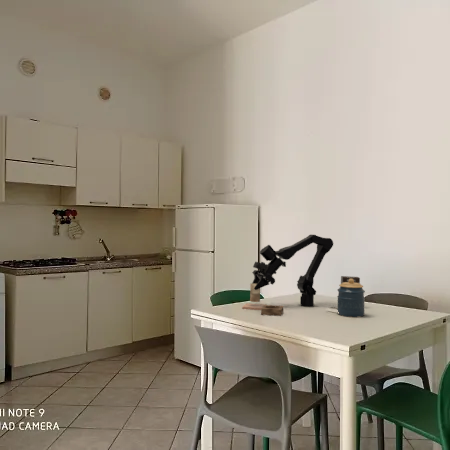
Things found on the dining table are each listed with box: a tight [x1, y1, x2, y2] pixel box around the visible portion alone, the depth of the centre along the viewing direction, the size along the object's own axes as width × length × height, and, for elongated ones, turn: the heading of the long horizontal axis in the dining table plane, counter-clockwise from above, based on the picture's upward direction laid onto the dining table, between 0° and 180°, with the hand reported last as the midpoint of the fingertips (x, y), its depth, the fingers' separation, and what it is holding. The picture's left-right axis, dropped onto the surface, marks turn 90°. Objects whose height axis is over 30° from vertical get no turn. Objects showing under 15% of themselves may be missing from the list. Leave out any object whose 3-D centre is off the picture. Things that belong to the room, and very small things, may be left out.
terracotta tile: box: [241, 303, 267, 311], centre depth 229 cm, size 11×11×1 cm
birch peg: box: [249, 282, 261, 303], centre depth 229 cm, size 5×5×9 cm
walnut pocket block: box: [260, 304, 284, 317], centre depth 214 cm, size 10×10×3 cm
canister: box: [336, 279, 366, 318], centre depth 215 cm, size 13×13×18 cm
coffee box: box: [340, 275, 361, 284], centre depth 236 cm, size 9×6×16 cm
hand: (252, 288), depth 228 cm, fingers closed on birch peg, 5 cm apart
